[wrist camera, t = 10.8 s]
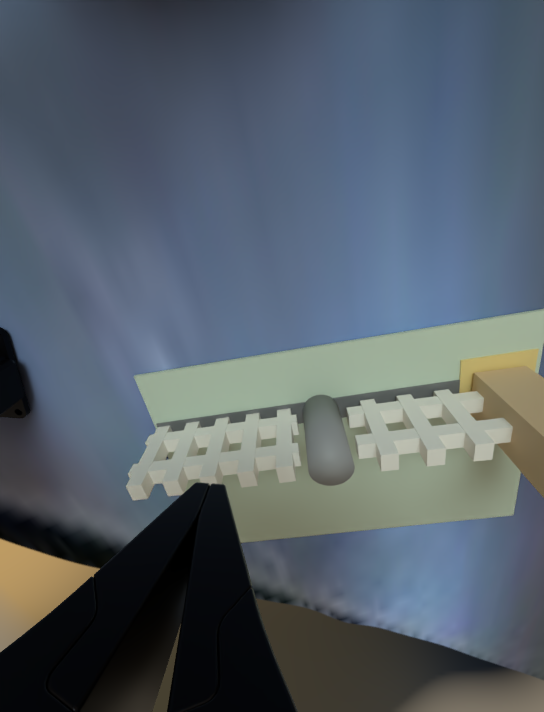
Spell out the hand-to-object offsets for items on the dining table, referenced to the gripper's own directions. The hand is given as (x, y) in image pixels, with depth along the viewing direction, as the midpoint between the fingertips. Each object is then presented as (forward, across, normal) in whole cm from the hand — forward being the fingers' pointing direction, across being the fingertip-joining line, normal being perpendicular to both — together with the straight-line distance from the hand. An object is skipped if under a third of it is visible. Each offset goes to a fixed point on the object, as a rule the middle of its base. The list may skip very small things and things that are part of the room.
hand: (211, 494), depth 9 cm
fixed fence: (+12, 0, -6) cm, 14 cm away
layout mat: (+12, +7, -8) cm, 16 cm away
